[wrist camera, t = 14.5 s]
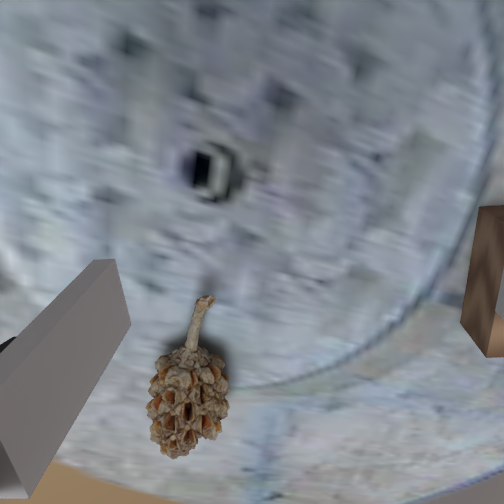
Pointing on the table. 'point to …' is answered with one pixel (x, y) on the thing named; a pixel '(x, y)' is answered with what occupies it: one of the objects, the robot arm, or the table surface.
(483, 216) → the walnut block
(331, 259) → the table surface
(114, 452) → the table surface
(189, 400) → the pine cone
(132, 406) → the table surface
